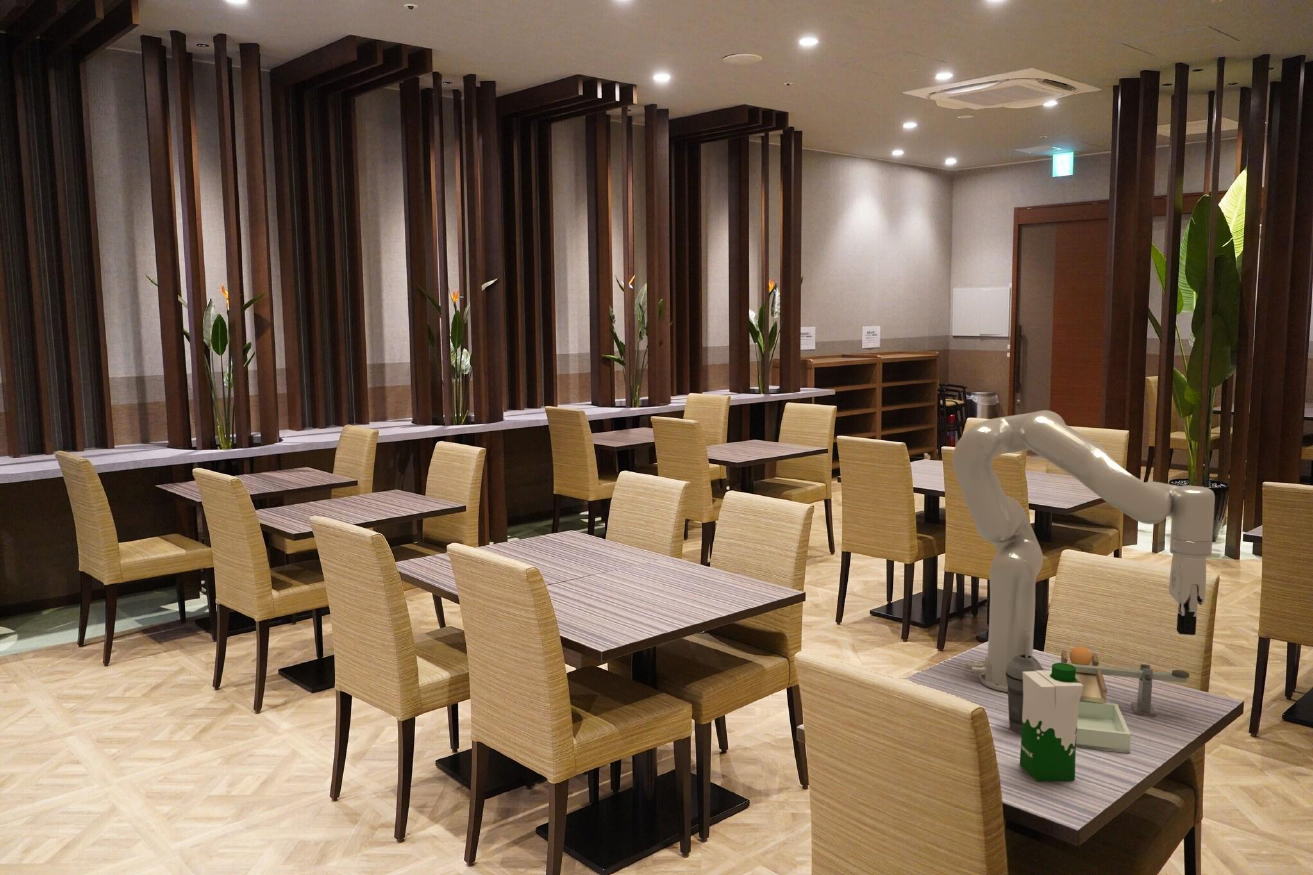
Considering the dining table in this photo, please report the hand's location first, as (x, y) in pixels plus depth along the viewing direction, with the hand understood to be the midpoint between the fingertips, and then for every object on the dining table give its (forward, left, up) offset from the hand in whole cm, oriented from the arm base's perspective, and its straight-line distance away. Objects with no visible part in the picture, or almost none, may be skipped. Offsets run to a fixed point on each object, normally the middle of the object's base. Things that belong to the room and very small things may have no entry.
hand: (1185, 633), depth 204 cm
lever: (-11, 0, -10) cm, 15 cm away
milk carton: (-29, -36, -18) cm, 50 cm away
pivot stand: (-7, 0, -18) cm, 19 cm away
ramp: (-19, -2, -18) cm, 26 cm away
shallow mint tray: (-19, -15, -18) cm, 30 cm away
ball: (-19, +3, -8) cm, 21 cm away
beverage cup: (-32, -18, -18) cm, 41 cm away
